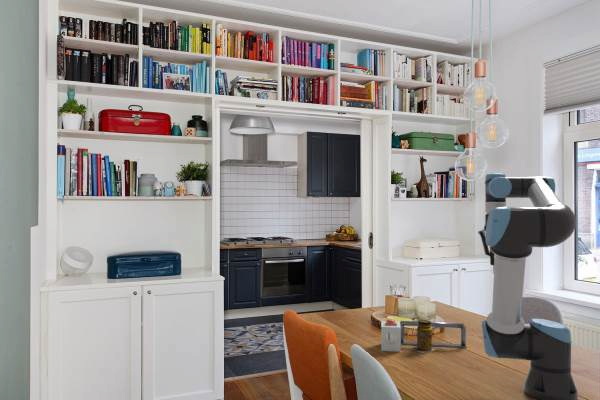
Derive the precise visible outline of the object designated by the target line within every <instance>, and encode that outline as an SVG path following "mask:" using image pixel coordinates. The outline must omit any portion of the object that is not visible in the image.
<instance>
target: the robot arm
mask: <svg viewBox="0 0 600 400" xmlns="http://www.w3.org/2000/svg"><path fill="white" fill-rule="evenodd" d="M484 185H485V189H484V191H485V205H484V206H485V211H484V212H485V215H484V216H485V217H484V218H485V219H484V223H485V224H484V227H483V229H481V230H478V231H477V233H478V234H479V236H480V239H481V242H482V246H483V250H484V254H485V255H486V256H488V257H489V261H490V262H489V263H490V266H492V274H493V285H492V286H493V289H492V304H491V306H492V307H491V312H490V313H489V314H488V315H487V317H486V319H485V320H482V321H481V330H482V338H483V345H484V352H485V354H486V355H487V356H488V357H491V358H495V359H496V358H497V359H510V360H511V359H512V360H523V361H530V368H529V371H528V373H527V376H526V379H525V382H524V392H525V394H527V395H528V396H530V397H532V398H534V399H537V400H578V389H577V386H576V383H575V381H574V378H573V375H572V343H573V342H572V334H571V330H570V328H569V327H568V326H566V325H565V324H562V323H559V322H557V321H553V320H549V319H543V318H531V319H530V321H529V323H526V321H525V319H524V318H523V317H522V306H523V293H524V283H525V272H526V262H527V261H526V260H527V259H526V258H528V257H531V255H532V253H533V248H550V247H555V246H558V245H560V244H562V243H563V242H566V241H567V240H568V239H569V238H570V237H571V236H572V234H573V233H574V231H575V229H576V226H577V218H576V215H575V213H574V211H573V210H572V209H571V208H570V207H569V206H568V205H566V204H565V203H563V202H561V200H560V199H559V198H558V195H556V182H555V179H554V178H553V177H550V176H527V177H525V176H524V177H523V176H522V177H521V176H520V177H517V176H515V177H513V176H512V177H511V176H510V177H507V176H506V174H505V173H488V174H486V175H485V180H484ZM509 198H510V199H512V198H513V199H517V198H518V199H519V198H521V199H526V198H528V199H529V200H530V201H531V203H532V205H533V207H531V206H530V207H529V206H528V207H524V206H523V207H522V206H521V207H520V206H518V207H517V206H507V199H509Z"/></svg>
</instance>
